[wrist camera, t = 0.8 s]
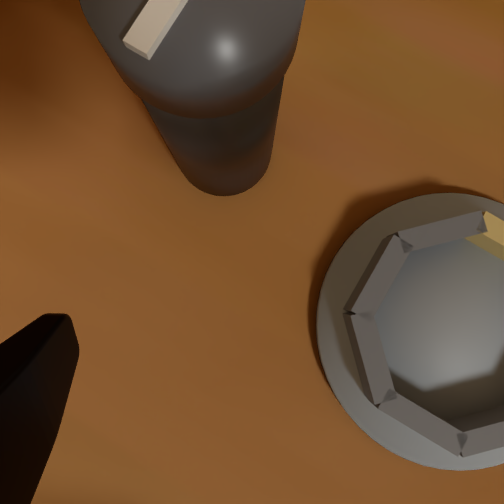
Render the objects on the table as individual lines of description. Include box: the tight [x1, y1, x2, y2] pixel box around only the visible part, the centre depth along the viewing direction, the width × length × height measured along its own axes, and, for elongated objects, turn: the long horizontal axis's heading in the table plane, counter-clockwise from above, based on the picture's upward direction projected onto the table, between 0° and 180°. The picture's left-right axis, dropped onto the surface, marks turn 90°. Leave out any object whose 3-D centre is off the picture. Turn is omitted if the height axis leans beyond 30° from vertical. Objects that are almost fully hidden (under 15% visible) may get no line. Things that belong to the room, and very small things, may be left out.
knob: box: [79, 0, 305, 196], centre depth 15 cm, size 5×5×12 cm
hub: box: [316, 193, 504, 471], centre depth 19 cm, size 13×13×2 cm
